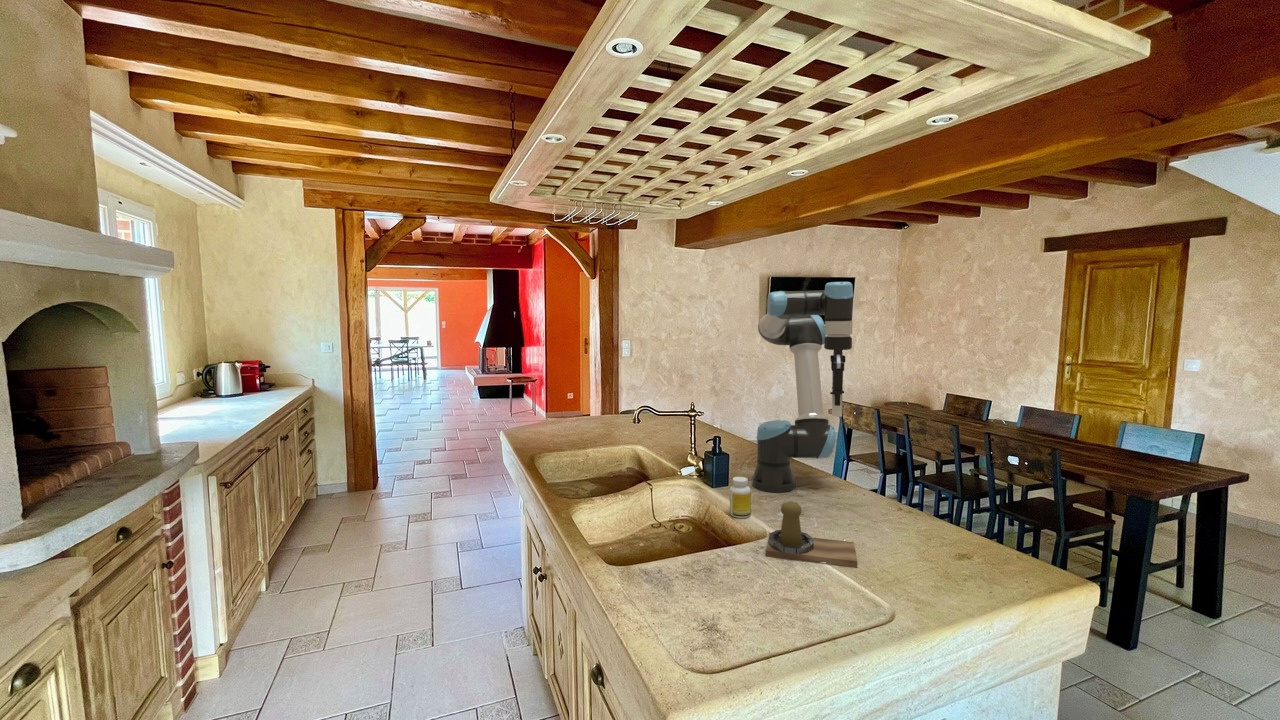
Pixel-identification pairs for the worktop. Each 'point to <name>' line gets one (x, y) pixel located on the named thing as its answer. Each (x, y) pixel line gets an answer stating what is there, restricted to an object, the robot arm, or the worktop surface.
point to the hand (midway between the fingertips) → (836, 415)
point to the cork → (791, 524)
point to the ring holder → (805, 548)
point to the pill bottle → (740, 498)
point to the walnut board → (823, 553)
